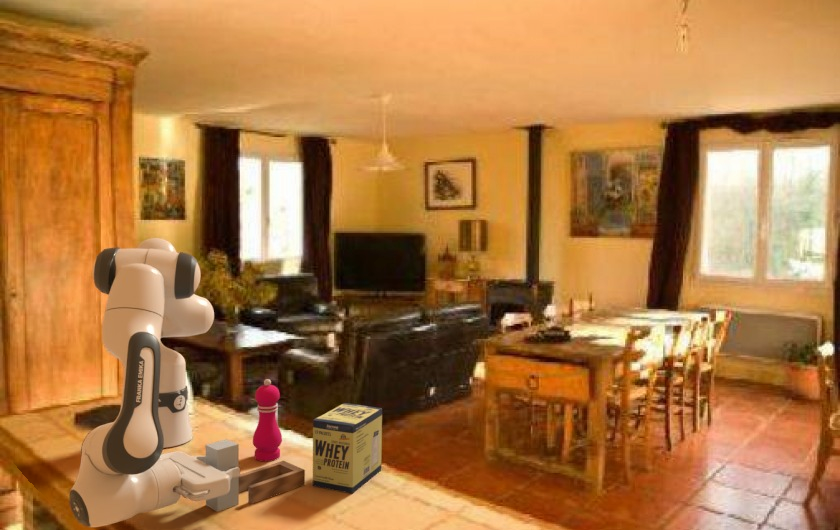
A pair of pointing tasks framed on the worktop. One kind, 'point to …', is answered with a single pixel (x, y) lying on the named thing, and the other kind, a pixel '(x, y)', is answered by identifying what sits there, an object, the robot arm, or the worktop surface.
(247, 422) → the worktop surface
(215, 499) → the tall white pillar
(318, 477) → the protein box
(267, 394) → the pepper mill
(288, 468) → the rack
